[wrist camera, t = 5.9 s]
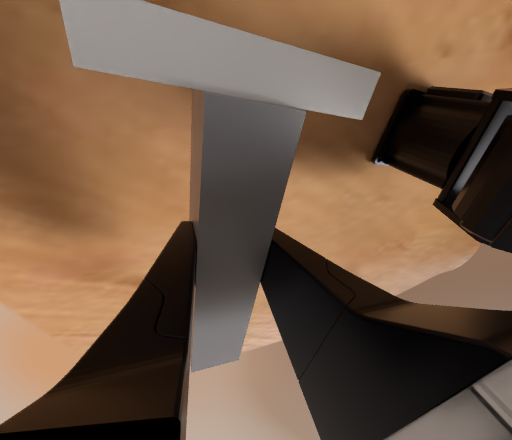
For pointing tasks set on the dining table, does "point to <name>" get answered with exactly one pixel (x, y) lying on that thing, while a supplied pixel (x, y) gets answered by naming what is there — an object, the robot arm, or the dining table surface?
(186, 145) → the dining table surface
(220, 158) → the pusher tool
